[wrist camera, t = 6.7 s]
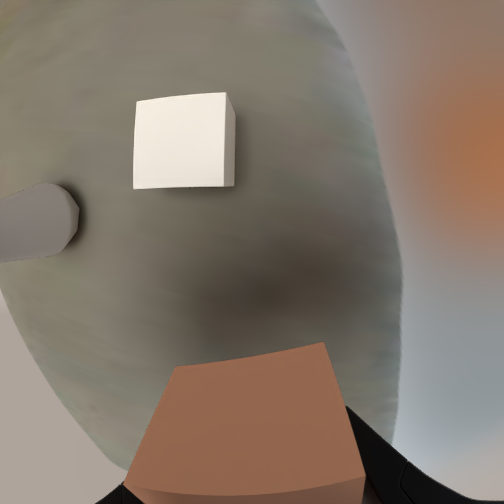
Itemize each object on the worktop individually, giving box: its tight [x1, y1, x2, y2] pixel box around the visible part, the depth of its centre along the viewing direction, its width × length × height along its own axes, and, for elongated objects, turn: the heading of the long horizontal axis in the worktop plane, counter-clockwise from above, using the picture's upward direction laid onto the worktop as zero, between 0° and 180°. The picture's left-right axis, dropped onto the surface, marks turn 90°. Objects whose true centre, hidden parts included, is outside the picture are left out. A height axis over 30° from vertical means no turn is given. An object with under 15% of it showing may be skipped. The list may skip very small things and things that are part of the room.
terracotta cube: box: [123, 342, 366, 504], centre depth 7 cm, size 5×5×5 cm
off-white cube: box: [133, 93, 236, 189], centre depth 16 cm, size 5×5×5 cm
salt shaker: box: [0, 183, 79, 263], centre depth 13 cm, size 6×6×13 cm
